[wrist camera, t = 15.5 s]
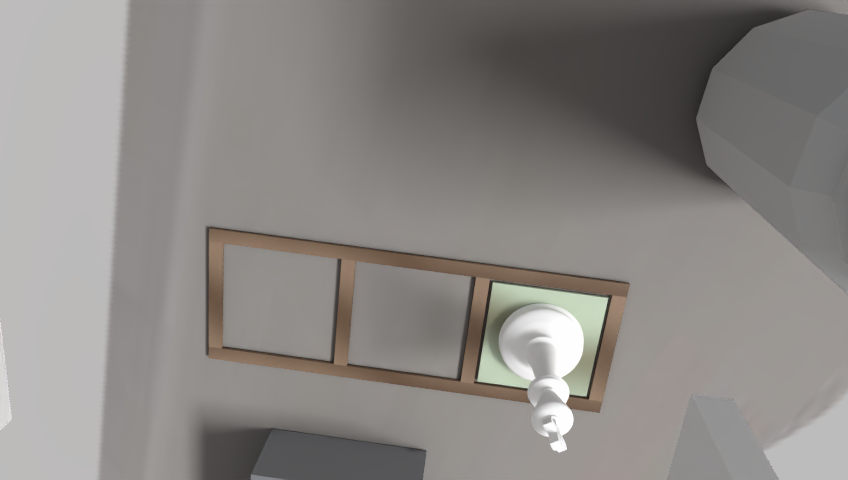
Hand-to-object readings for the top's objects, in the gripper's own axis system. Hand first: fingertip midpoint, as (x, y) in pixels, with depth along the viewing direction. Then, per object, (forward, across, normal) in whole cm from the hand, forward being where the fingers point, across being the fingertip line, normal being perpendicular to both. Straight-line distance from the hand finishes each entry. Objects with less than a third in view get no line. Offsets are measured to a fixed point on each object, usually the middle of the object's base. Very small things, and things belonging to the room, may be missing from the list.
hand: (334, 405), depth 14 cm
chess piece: (+27, +8, -12) cm, 30 cm away
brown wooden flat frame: (+27, 0, -12) cm, 29 cm away
